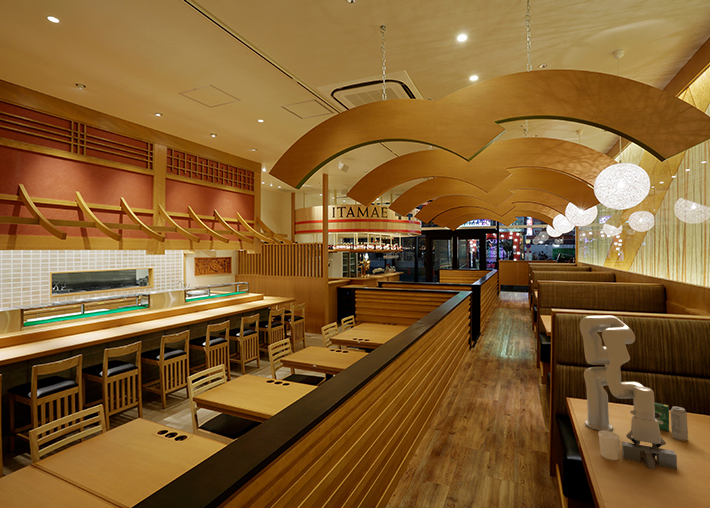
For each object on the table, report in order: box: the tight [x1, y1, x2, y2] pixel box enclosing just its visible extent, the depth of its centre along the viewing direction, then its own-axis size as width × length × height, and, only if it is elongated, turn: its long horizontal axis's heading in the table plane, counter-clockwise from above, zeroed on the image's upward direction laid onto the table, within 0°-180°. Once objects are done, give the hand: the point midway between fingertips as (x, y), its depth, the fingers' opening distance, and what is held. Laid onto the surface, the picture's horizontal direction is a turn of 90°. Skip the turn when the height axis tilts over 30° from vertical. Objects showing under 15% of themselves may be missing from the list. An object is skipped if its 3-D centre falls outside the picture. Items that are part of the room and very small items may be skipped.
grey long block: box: [621, 441, 678, 470], centre depth 160 cm, size 4×18×6 cm, turn 61°
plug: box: [640, 443, 656, 470], centre depth 161 cm, size 14×4×4 cm, turn 150°
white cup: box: [598, 431, 620, 461], centre depth 165 cm, size 8×8×10 cm
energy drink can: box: [670, 405, 689, 442], centre depth 180 cm, size 6×6×15 cm
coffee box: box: [654, 402, 670, 432], centre depth 190 cm, size 8×3×13 cm, turn 44°
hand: (646, 455), depth 164 cm, fingers closed on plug, 4 cm apart
